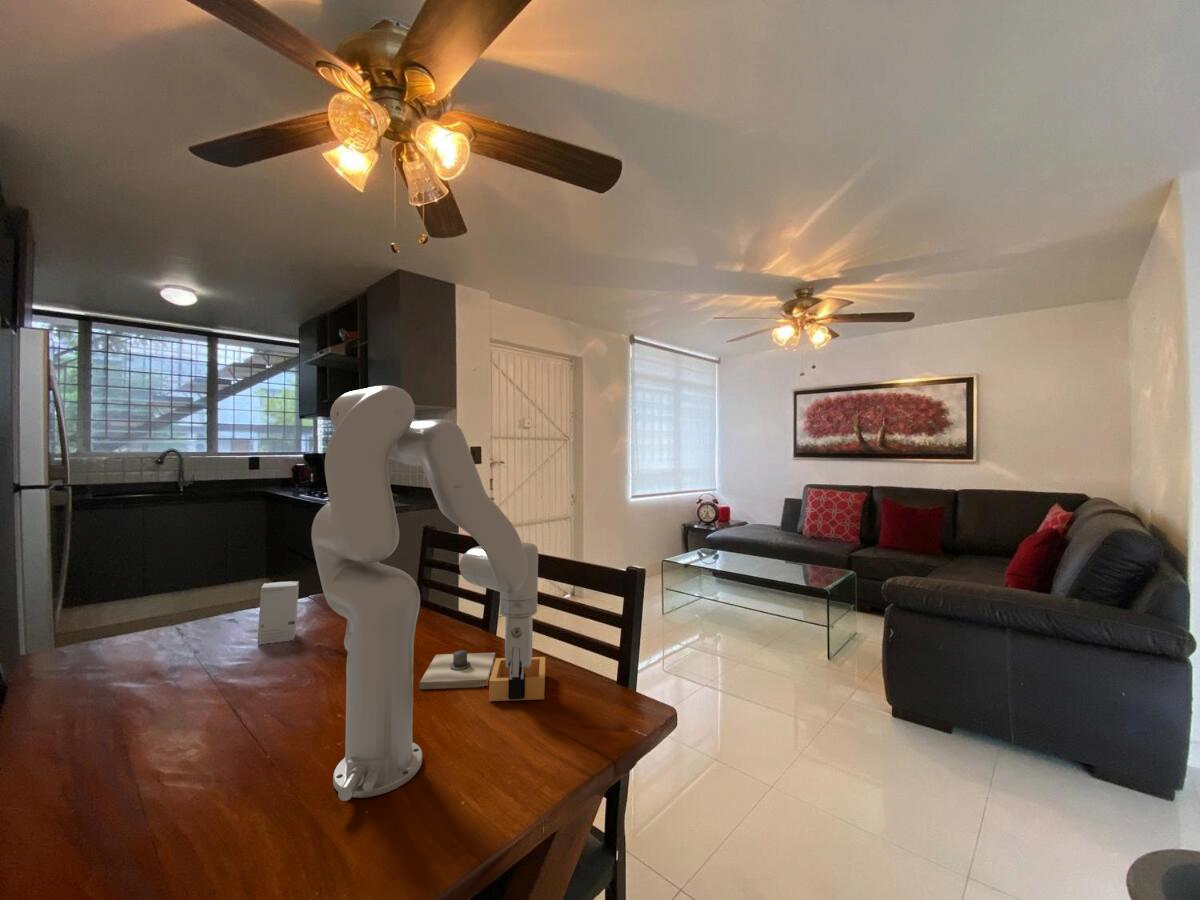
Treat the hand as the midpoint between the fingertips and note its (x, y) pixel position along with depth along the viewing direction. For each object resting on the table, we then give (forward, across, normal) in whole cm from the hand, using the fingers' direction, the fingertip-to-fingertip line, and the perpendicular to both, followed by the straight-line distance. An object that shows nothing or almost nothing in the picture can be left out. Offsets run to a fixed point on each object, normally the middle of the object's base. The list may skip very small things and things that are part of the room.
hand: (516, 695), depth 95 cm
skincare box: (+1, +37, +66) cm, 76 cm away
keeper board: (+1, +13, +14) cm, 19 cm away
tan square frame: (+1, +5, 0) cm, 5 cm away
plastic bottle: (+1, +28, +42) cm, 50 cm away
